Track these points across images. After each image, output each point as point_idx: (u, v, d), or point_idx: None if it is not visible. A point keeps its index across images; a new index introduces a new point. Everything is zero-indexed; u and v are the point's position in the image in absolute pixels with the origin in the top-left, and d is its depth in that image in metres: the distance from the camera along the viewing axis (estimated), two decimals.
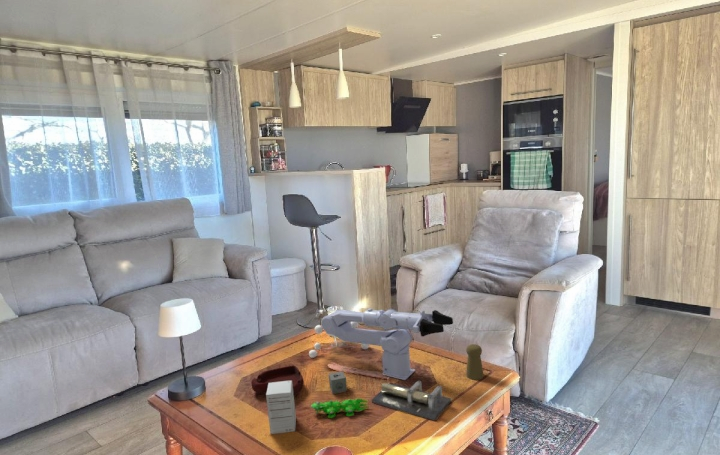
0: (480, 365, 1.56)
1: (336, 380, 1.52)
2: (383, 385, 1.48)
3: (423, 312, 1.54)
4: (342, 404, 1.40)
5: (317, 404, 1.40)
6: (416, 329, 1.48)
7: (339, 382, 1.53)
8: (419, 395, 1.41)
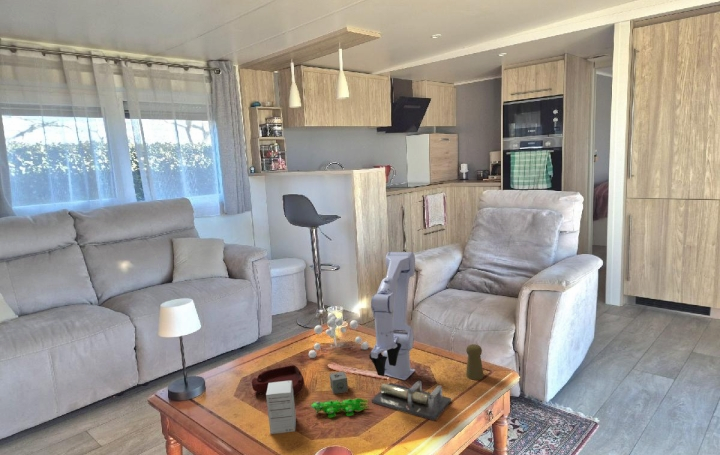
0: (480, 365, 1.56)
1: (337, 380, 1.52)
2: (382, 387, 1.48)
3: None
4: (342, 404, 1.41)
5: (317, 404, 1.40)
6: (374, 356, 1.40)
7: (340, 382, 1.52)
8: (418, 397, 1.40)
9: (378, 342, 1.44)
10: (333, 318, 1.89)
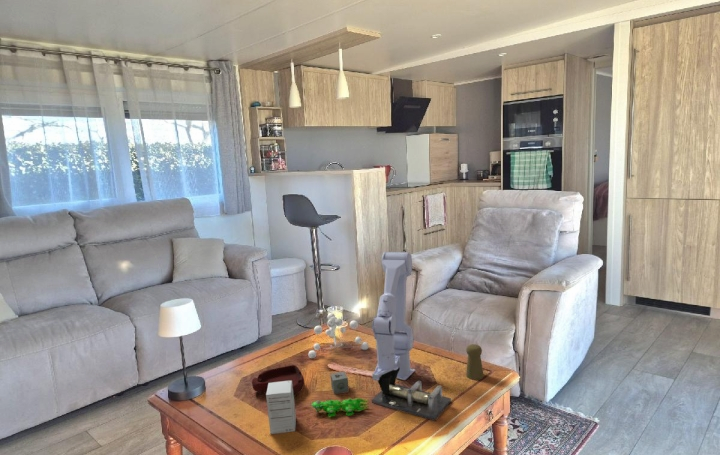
0: (480, 365, 1.56)
1: (338, 380, 1.52)
2: None
3: None
4: (342, 403, 1.41)
5: (317, 403, 1.41)
6: (375, 378, 1.41)
7: (341, 382, 1.52)
8: (419, 395, 1.41)
9: (379, 364, 1.45)
10: (333, 318, 1.89)
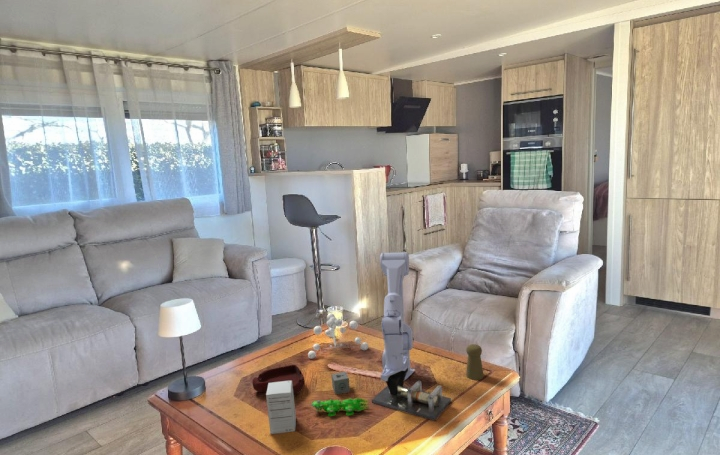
0: (480, 365, 1.56)
1: (339, 380, 1.52)
2: None
3: None
4: (342, 403, 1.41)
5: (317, 402, 1.41)
6: (384, 379, 1.40)
7: (342, 382, 1.52)
8: (427, 398, 1.39)
9: (388, 364, 1.43)
10: (332, 318, 1.88)
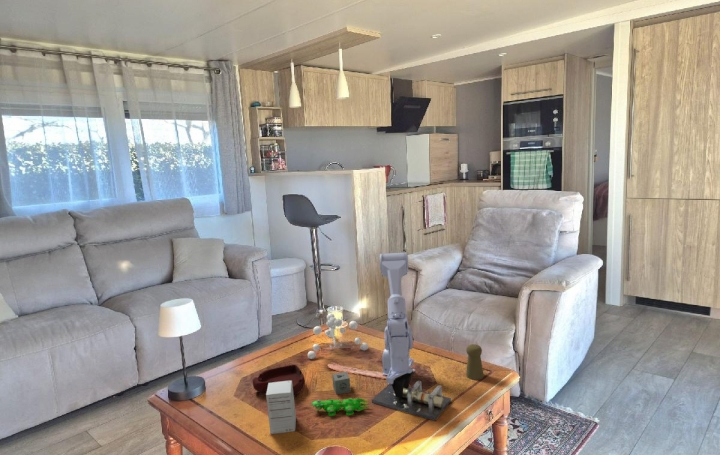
0: (480, 365, 1.56)
1: (340, 381, 1.52)
2: None
3: None
4: (342, 403, 1.41)
5: (318, 402, 1.41)
6: (389, 382, 1.39)
7: (343, 383, 1.52)
8: None
9: (393, 367, 1.42)
10: (332, 319, 1.88)
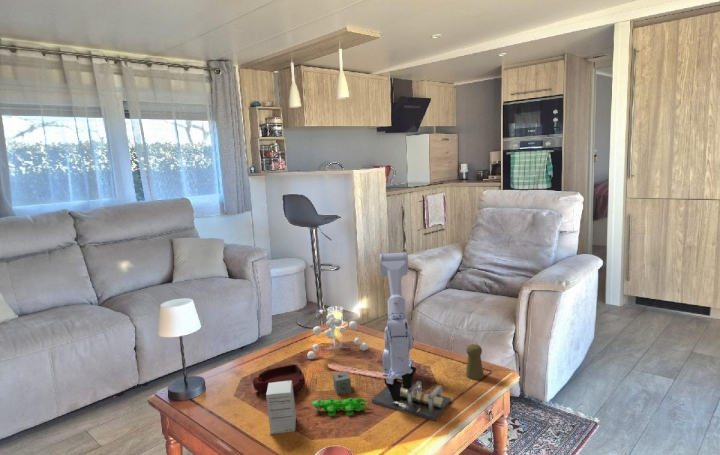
0: (480, 365, 1.56)
1: (340, 381, 1.52)
2: None
3: None
4: (342, 403, 1.41)
5: (318, 402, 1.42)
6: (389, 382, 1.39)
7: (343, 383, 1.52)
8: None
9: (393, 367, 1.43)
10: None
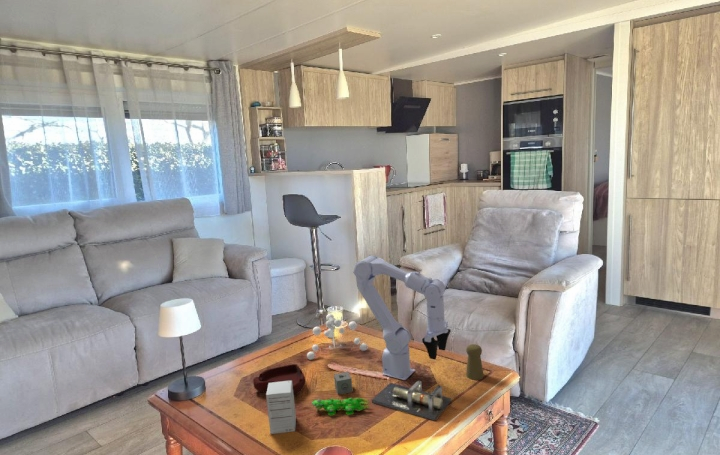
0: (480, 365, 1.56)
1: (341, 381, 1.51)
2: (394, 392, 1.45)
3: None
4: (342, 402, 1.41)
5: (318, 401, 1.42)
6: (427, 340, 1.48)
7: (344, 383, 1.52)
8: None
9: (430, 327, 1.52)
10: (331, 319, 1.88)
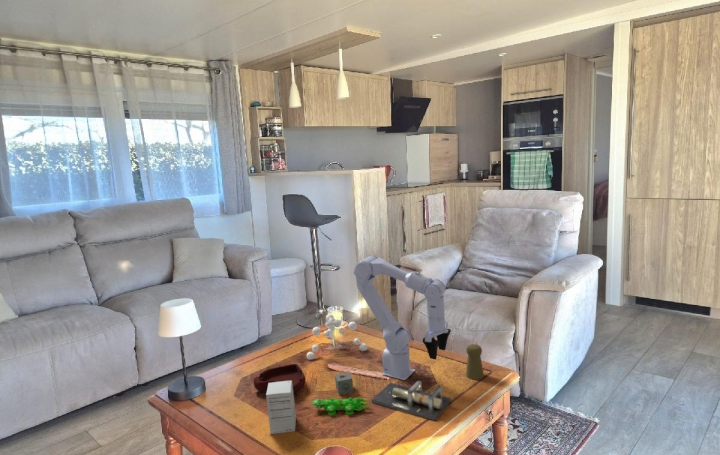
0: (480, 365, 1.56)
1: (342, 381, 1.51)
2: (393, 393, 1.45)
3: None
4: (342, 402, 1.41)
5: (318, 401, 1.42)
6: (428, 340, 1.48)
7: (345, 383, 1.52)
8: None
9: (430, 327, 1.52)
10: (331, 319, 1.88)
